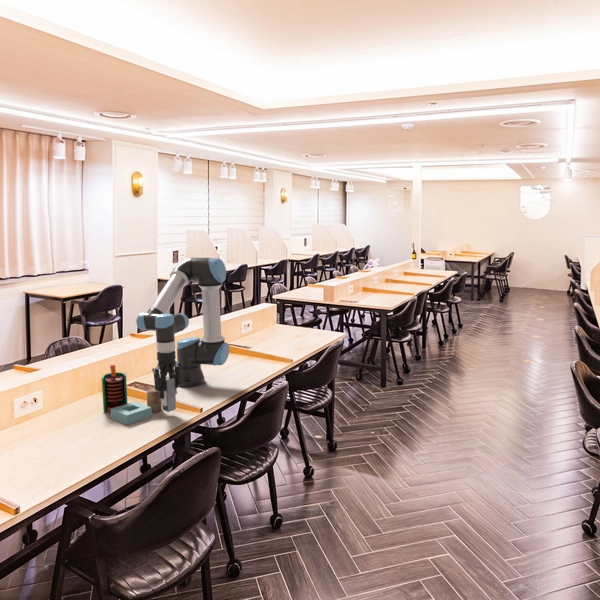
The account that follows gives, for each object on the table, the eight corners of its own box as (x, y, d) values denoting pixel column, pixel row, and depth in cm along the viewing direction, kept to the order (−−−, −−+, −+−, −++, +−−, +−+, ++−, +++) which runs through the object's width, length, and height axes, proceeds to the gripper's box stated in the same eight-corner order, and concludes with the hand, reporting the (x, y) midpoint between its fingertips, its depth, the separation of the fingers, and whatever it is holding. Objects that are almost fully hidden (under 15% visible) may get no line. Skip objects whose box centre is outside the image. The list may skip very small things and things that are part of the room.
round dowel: (156, 407, 240) (155, 387, 239) (164, 410, 236) (163, 390, 235) (144, 411, 235) (143, 391, 234) (153, 414, 232) (152, 394, 230)
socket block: (135, 410, 236) (135, 401, 236) (151, 416, 229) (151, 407, 228) (111, 417, 227) (110, 408, 227) (127, 424, 220) (126, 415, 219)
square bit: (170, 407, 233) (168, 376, 230) (175, 409, 230) (174, 378, 228) (162, 409, 229) (160, 378, 227) (168, 412, 227) (166, 380, 225)
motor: (106, 414, 231) (104, 369, 228) (100, 408, 238) (97, 365, 235) (130, 409, 237) (127, 366, 234) (123, 404, 244) (121, 361, 241)
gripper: (176, 345, 234) (179, 396, 238) (143, 353, 221) (146, 407, 225) (187, 348, 230) (190, 400, 233) (154, 356, 216) (157, 411, 220)
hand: (168, 403), depth 229 cm, fingers closed on square bit, 4 cm apart
